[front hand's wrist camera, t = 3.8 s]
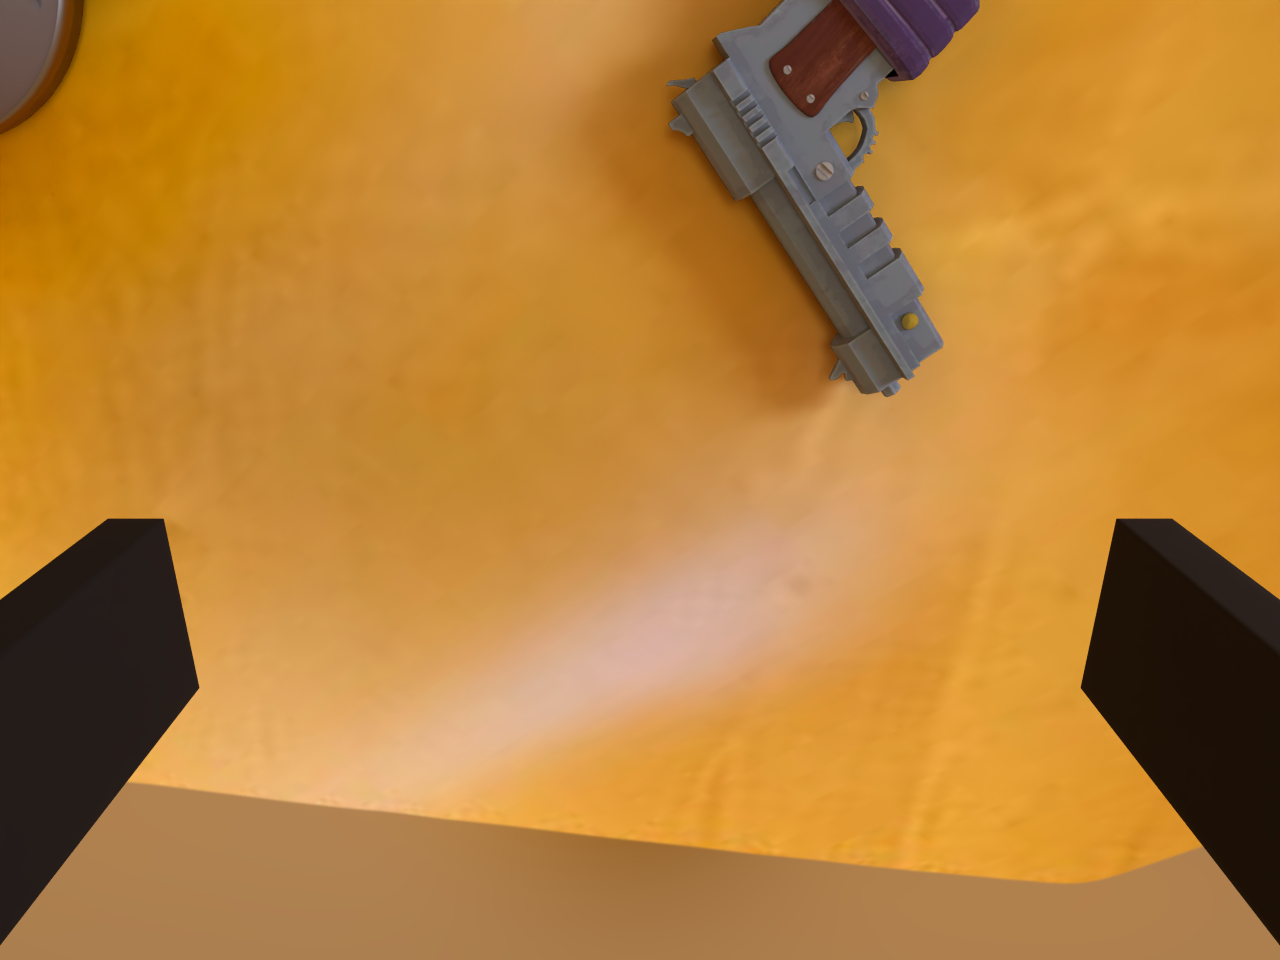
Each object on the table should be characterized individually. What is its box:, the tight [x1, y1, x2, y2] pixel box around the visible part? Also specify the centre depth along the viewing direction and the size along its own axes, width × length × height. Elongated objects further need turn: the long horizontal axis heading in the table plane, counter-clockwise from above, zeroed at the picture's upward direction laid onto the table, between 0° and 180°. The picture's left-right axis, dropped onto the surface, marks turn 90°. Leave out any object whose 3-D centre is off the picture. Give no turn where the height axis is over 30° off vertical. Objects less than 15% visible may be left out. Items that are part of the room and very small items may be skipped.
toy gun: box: [666, 0, 979, 397], centre depth 39 cm, size 4×19×15 cm
